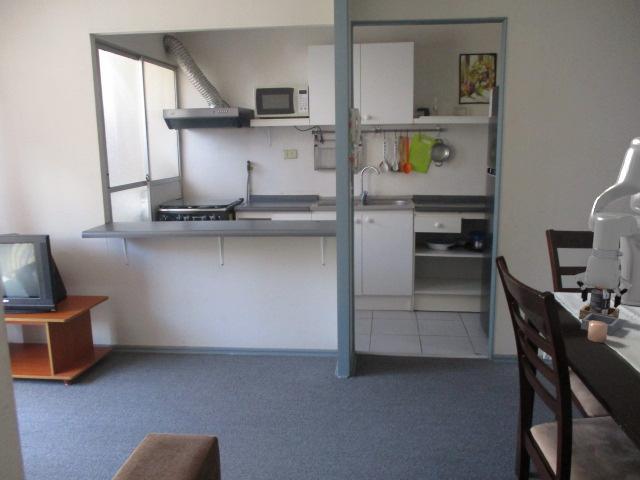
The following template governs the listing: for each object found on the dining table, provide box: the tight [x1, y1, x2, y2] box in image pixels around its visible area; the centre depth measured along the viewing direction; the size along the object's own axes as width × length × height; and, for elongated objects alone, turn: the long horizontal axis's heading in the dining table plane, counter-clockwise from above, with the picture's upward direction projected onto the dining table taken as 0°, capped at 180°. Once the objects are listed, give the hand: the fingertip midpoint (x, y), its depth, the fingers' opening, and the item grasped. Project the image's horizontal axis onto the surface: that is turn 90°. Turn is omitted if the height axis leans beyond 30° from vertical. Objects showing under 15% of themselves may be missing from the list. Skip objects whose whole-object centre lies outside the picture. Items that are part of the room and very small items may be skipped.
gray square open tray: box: [580, 313, 621, 336], centre depth 172 cm, size 9×9×3 cm
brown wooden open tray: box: [578, 302, 620, 320], centre depth 181 cm, size 10×10×3 cm
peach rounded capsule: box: [587, 321, 608, 343], centre depth 163 cm, size 5×5×5 cm
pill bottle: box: [589, 287, 612, 315], centre depth 180 cm, size 6×6×11 cm
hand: (600, 303), depth 180 cm, fingers open, 9 cm apart
